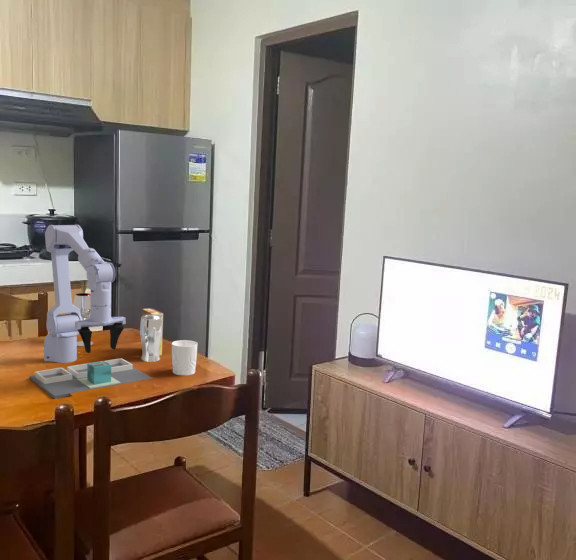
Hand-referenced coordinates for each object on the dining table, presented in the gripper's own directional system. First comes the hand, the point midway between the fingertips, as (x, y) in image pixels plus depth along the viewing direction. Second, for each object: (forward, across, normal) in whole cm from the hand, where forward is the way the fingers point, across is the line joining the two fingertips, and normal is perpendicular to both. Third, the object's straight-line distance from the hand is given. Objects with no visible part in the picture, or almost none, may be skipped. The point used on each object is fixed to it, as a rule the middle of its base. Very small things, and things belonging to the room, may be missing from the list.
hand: (100, 350), depth 178 cm
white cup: (+10, +24, -7) cm, 27 cm away
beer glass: (+10, +22, +10) cm, 26 cm away
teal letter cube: (+8, -2, -3) cm, 9 cm away
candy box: (+10, +26, +17) cm, 33 cm away
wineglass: (+10, +12, +41) cm, 44 cm away
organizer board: (+9, -2, +2) cm, 10 cm away
